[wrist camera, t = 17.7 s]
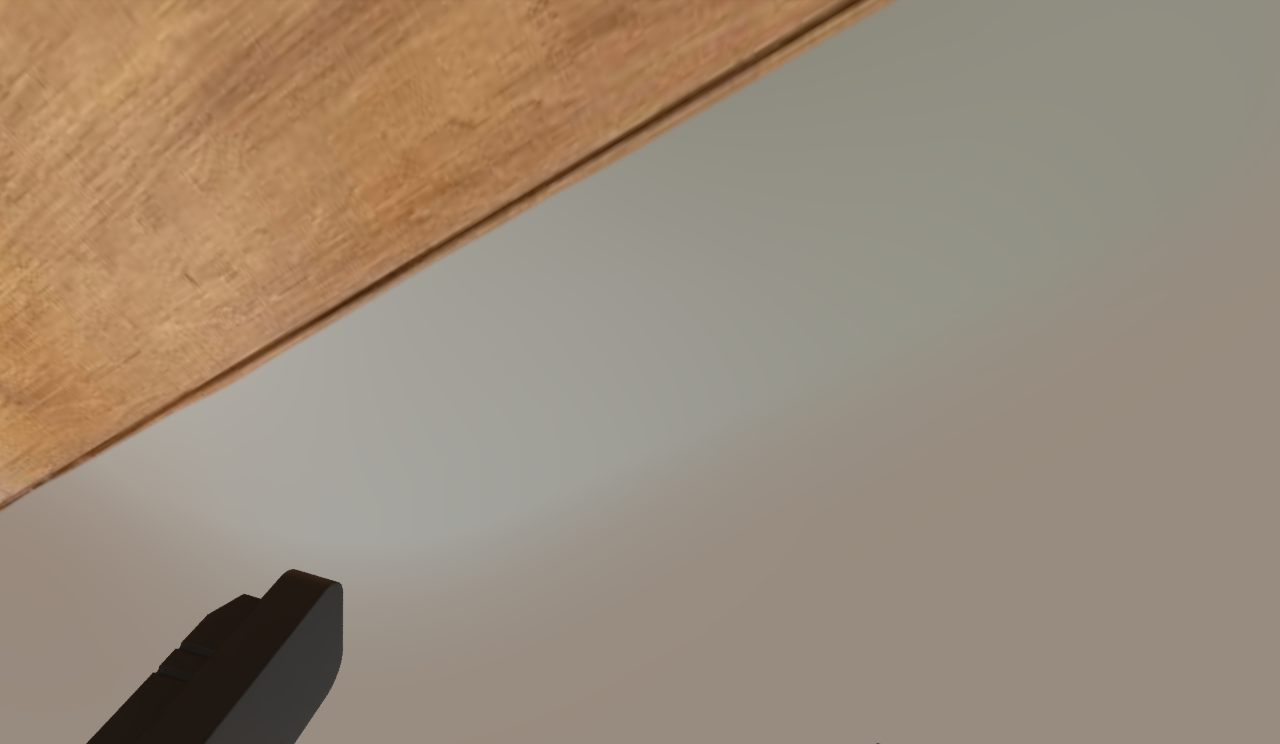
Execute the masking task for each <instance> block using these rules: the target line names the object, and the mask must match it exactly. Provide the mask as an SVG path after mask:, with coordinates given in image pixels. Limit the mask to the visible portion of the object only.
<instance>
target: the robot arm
mask: <svg viewBox="0 0 1280 744" xmlns="http://www.w3.org/2000/svg"><path fill="white" fill-rule="evenodd" d="M342 653H343V588H342V585H341V584H340V583H339V582H336V581H333V580H329V579H326V578H322V577H319V576H316V575H312V574H309V573H305V572H302V571H299V570H295V569H292V570H289V571H287V572H285V573H284V574H283V575H282V576H281V577H280V578H279V579H278V580H277V581H276V583H275V584H274V585H273V586H272V587H271V588H270V589H269V591H268V592H267V593H266V594H265V595H264V596H263V597H262V598H261V599H260V598H256V597H253V596H250V595H246V594H243V595H241V596H239V597H238V598H236V599H234V600H232V601H231V602H229V603H227V604H226V605H224V606H222V607H220V608H218V609H217V610H215V611H213V612H211V613H210V614H208V615H207V616H206V617H205V618H204V619H203V620H202V621H201V622H200V623H199V625H198V626H197V627H196V628H195V629H194V630H193V631H192V632H191V633H190V634H189V635H188V636H187V637H186V638H185V639H184V640H183V642H182V643H181V646H180V648H179V649H175V650H174V651H173V652H172V653H171V654H170V655H169V656H168V657H167V659H166V660H165V661H164V662H163V663H162V664H161V665H160V666H159V669H158V671H157V672H156V673H152V674H151V676H150V677H149V678H148V679H147V680H146V681H145V682H144V683H143V684H142V685H141V686H140V687H139V688H138V690H136V691H135V693H134V694H133V695H132V696H131V697H130V698H129V699H128V700H127V701H126V702H125V703H124V704H123V705H122V706H121V707H120V708H119V710H118V711H117V712H116V713H115V714H114V715H113V716H112V717H111V718H110V719H109V720H108V721H107V722H106V723H105V724H104V725H103V727H102V728H101V729H100V730H99V731H98V732H97V733H96V734H95V735H94V736H93V737H92V738H91V739H90V740H89V741H88V743H87V744H294V743H295V742H296V740H297V739H298V737H299V736H300V735H301V733H302V732H303V730H304V729H305V727H306V726H307V724H308V722H309V721H310V720H311V718H312V717H313V715H314V714H315V712H316V711H317V709H318V708H319V707H320V705H321V704H322V702H323V701H324V699H325V698H326V696H327V695H328V693H329V691H330V689H331V687H332V685H333V683H334V681H335V679H336V676H337V674H338V671H339V668H340V664H341V660H342ZM877 744H878V743H877Z"/></svg>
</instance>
